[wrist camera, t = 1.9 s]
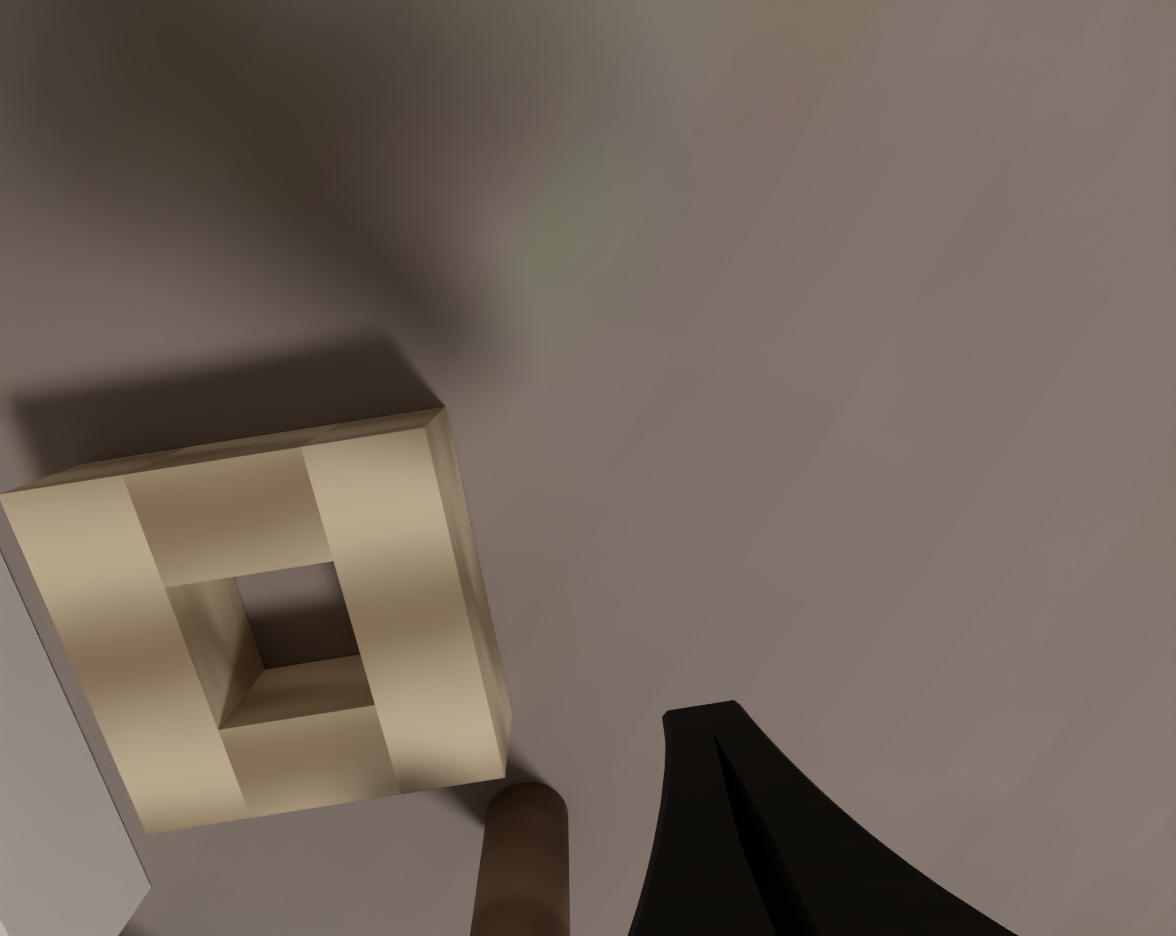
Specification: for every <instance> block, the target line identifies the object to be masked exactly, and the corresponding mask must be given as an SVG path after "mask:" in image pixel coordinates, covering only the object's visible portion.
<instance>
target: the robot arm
mask: <svg viewBox="0 0 1176 936" xmlns="http://www.w3.org/2000/svg"><path fill="white" fill-rule="evenodd" d="M662 720H663V727H664V734H665V770H664V779H663V788H662V797H661V805H660V811H659V816H658V821H657V827H656V832H655V837H654V843H653V848H652V852H651V857H650V861H649V865H648V869H647V873H646V877H645V881H644V884H643V888H642V892H641V895H640V899H639V902H638V906H637V909H636V912H635V915H634V918H633V921H632V924H631V927H630V930H629V934H628V936H1018V935H1016V934H1014V933H1013V932H1011V931H1009V930H1008V929H1006V928H1004V927H1003V926H1001V925H1000V924H998V923H997V922H995V921H993V920H992V919H990V918H989V917H987V916H986V915H984V914H983V913H981V912H979V911H978V910H976V909H975V908H973V907H972V906H970V905H969V904H967V903H965V902H964V901H962V900H961V899H959V898H958V897H956V896H955V895H953V894H952V893H950V892H948V891H947V890H945V889H944V888H942V887H941V886H939V885H938V884H937V883H935V882H934V881H932V880H931V879H930V878H928V877H927V876H925V875H924V874H923V873H921V872H920V871H919V870H917V869H916V868H914V867H913V866H912V865H910V864H909V863H907V862H906V861H905V860H904V859H902V858H901V857H900V856H898V855H897V854H896V853H894V852H893V851H892V850H890V849H889V848H888V847H887V846H885V845H884V844H883V843H881V842H880V841H879V840H878V839H876V838H875V837H874V836H873V835H871V834H870V833H869V832H868V831H867V830H865V829H864V828H863V827H862V826H861V825H859V824H858V823H857V822H856V821H855V820H853V819H852V818H851V817H850V816H849V815H848V814H847V813H845V812H844V811H843V810H842V809H841V808H840V807H839V806H838V805H836V804H835V803H834V802H833V801H832V800H831V799H830V798H829V797H827V796H826V795H825V794H824V793H823V792H822V791H821V790H820V789H819V788H818V787H817V786H816V785H815V784H814V783H813V782H812V781H811V780H809V779H808V778H807V777H806V776H805V775H804V774H803V773H802V772H801V771H800V770H799V769H798V768H797V767H796V766H795V765H794V764H793V763H792V762H791V761H790V760H789V759H788V758H787V757H786V756H785V755H784V754H783V753H782V752H781V751H780V750H779V748H778V747H777V746H776V745H775V744H774V743H773V742H772V741H771V740H770V739H769V738H768V737H767V736H766V734H765V733H764V732H763V731H762V730H761V729H760V728H759V727H758V725H757V724H756V723H755V722H754V721H753V720H752V718H751V717H750V716H749V715H748V714H747V713H746V711H745V710H744V709H743V708H742V706H741V705H740V704H738V703H737V702H736V701H734V700H731V701H725V702H719V703H712V704H706V705H700V706H693V707H687V708H681V709H674V710H668V711H667V712H666V713H665V714H664V715H663V716H662Z"/></svg>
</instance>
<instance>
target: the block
mask: <svg viewBox="0 0 1176 936" xmlns="http://www.w3.org/2000/svg"><path fill="white" fill-rule="evenodd" d="M0 501H1V503H2V506H3V508H4V510H5V513H6V515H7V517H8V519H9V522H10V524H11V526H12V528H13V531H14V533H15V535H16V538H17V540H18V542H19V544H20V547H21V549H22V551H23V554H24V556H25V558H26V560H27V563H28V565H29V567H30V569H31V572H32V574H33V576H34V579H35V581H36V583H37V585H38V588H39V590H40V592H41V595H42V597H43V599H44V601H45V604H46V606H47V608H48V610H49V613H50V615H51V617H52V620H53V622H54V624H55V626H56V629H57V631H58V633H59V635H60V638H61V640H62V642H63V645H64V647H65V649H66V651H67V654H68V656H69V658H70V661H71V663H72V665H73V667H74V670H75V672H76V674H77V676H78V679H79V681H80V683H81V686H82V688H83V690H84V692H85V695H86V697H87V699H88V702H89V704H90V706H91V708H92V711H93V713H94V715H95V717H96V720H97V722H98V724H99V727H100V729H101V731H102V733H103V736H104V738H105V740H106V743H107V745H108V747H109V749H110V752H111V754H112V756H113V758H114V761H115V763H116V765H117V768H118V770H119V772H120V774H121V777H122V779H123V781H124V784H125V786H126V788H127V790H128V793H129V795H130V797H131V799H132V802H133V804H134V806H135V809H136V811H137V813H138V815H139V818H140V820H141V822H142V825H143V827H144V829H145V831H146V834H152V833H158V832H165V831H171V830H177V829H184V828H190V827H196V826H202V825H209V824H215V823H221V822H228V821H234V820H240V819H247V818H253V817H259V816H266V815H272V814H278V813H285V812H291V811H297V810H304V809H310V808H316V807H322V806H329V805H335V804H341V803H348V802H354V801H360V800H367V799H373V798H379V797H386V796H392V795H398V794H405V793H411V792H417V791H424V790H430V789H436V788H443V787H449V786H455V785H461V784H468V783H474V782H480V781H487V780H493V779H499V778H505V772H506V763H507V754H508V745H509V736H510V727H511V718H512V711H511V706H510V702H509V697H508V693H507V688H506V683H505V679H504V674H503V670H502V665H501V660H500V656H499V651H498V647H497V642H496V637H495V633H494V628H493V624H492V619H491V614H490V610H489V605H488V601H487V596H486V591H485V587H484V582H483V578H482V573H481V568H480V564H479V559H478V555H477V550H476V545H475V541H474V536H473V532H472V527H471V522H470V518H469V513H468V509H467V504H466V499H465V495H464V490H463V486H462V481H461V476H460V472H459V467H458V463H457V458H456V453H455V449H454V444H453V440H452V435H451V430H450V426H449V421H448V417H447V412H446V407H439V408H433V409H426V410H420V411H414V412H407V413H401V414H395V415H388V416H382V417H375V418H369V419H363V420H356V421H350V422H344V423H337V424H331V425H325V426H318V427H312V428H305V429H299V430H293V431H286V432H280V433H274V434H267V435H261V436H254V437H248V438H242V439H235V440H229V441H223V442H216V443H210V444H204V445H197V446H191V447H184V448H178V449H172V450H165V451H159V452H153V453H146V454H140V455H134V456H127V457H121V458H114V459H108V460H102V461H95V462H89V463H83V464H81V465H78V466H75V467H72V468H70V469H67V470H64V471H61V472H59V473H56V474H53V475H50V476H48V477H45V478H42V479H39V480H37V481H34V482H31V483H28V484H26V485H23V486H20V487H17V488H15V489H12V490H9V491H6V492H4V493H1V494H0ZM331 561H334V565H335V568H336V571H337V575H338V578H339V582H340V585H341V589H342V592H343V596H344V599H345V603H346V606H347V610H348V613H349V616H350V620H351V623H352V627H353V630H354V634H355V637H356V641H357V644H358V648H359V651H360V655H354V656H347V657H341V658H335V659H328V660H322V661H316V662H309V663H303V664H297V665H290V666H284V667H278V668H271V669H265V668H264V665H263V662H262V659H261V656H260V653H259V650H258V647H257V644H256V642H255V639H254V636H253V633H252V630H251V627H250V624H249V621H248V618H247V615H246V612H245V609H244V606H243V603H242V600H241V597H240V595H239V592H238V589H237V586H236V583H235V580H234V577H235V576H242V575H248V574H254V573H261V572H267V571H273V570H280V569H286V568H292V567H299V566H305V565H312V564H318V563H324V562H331Z"/></svg>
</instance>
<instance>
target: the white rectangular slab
mask: <svg viewBox="0 0 1176 936" xmlns="http://www.w3.org/2000/svg"><path fill="white" fill-rule="evenodd" d="M150 888H151V886H150V884H149V881H148V879H147V877H146V875H145V872H144V870H143V868H142V866H141V864H140V861H139V859H138V857H137V855H136V852H135V850H134V848H133V846H132V844H131V841H130V839H129V837H128V835H127V832H126V830H125V828H124V826H123V824H122V821H121V819H120V817H119V815H118V812H117V810H116V808H115V806H114V804H113V801H112V799H111V797H110V795H109V792H108V790H107V788H106V786H105V784H104V781H103V779H102V777H101V775H100V772H99V770H98V768H97V766H96V764H95V761H94V759H93V757H92V755H91V752H90V750H89V748H88V746H87V744H86V741H85V739H84V737H83V735H82V732H81V730H80V728H79V726H78V724H77V721H76V719H75V717H74V715H73V712H72V710H71V708H70V706H69V704H68V701H67V699H66V697H65V695H64V692H63V690H62V688H61V686H60V684H59V681H58V679H57V677H56V675H55V672H54V670H53V668H52V666H51V664H50V661H49V659H48V657H47V655H46V652H45V650H44V648H43V646H42V644H41V641H40V639H39V637H38V635H37V633H36V630H35V628H34V626H33V624H32V621H31V619H30V617H29V615H28V613H27V610H26V608H25V606H24V604H23V601H22V599H21V597H20V595H19V593H18V590H17V588H16V586H15V584H14V581H13V579H12V577H11V575H10V573H9V570H8V568H7V566H6V564H5V561H4V559H3V557H2V555H1V553H0V936H118V935H119V934H120V932H121V931H122V929H123V928H124V926H125V925H126V924H127V922H128V921H129V919H130V918H131V916H132V915H133V913H134V912H135V910H136V909H137V907H138V906H139V904H140V903H141V902H142V900H143V899H144V897H145V896H146V894H147V893H148V891H149V890H150Z"/></svg>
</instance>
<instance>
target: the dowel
mask: <svg viewBox="0 0 1176 936" xmlns="http://www.w3.org/2000/svg"><path fill="white" fill-rule="evenodd" d="M470 936H570V902H569V842H568V810H567V806H566V804H565V802H564V800H563V799H562V797H561V796H560V795H559V794H558V793H557V792H555V791H554V790H552V789H551V788H549V787H547V786H544V785H541V784H536V783H520V784H516V785H512V786H510V787H507V788H505V789H504V790H502V791H501V792H499V793H498V794H497V795H496V796H495V797H494V798H493V800H492V801H491V803H490V805H489V807H488V810H487V816H486V824H485V831H484V838H483V845H482V853H481V860H480V867H479V874H478V881H477V889H476V896H475V903H474V910H473V918H472V925H471V932H470Z"/></svg>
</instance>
